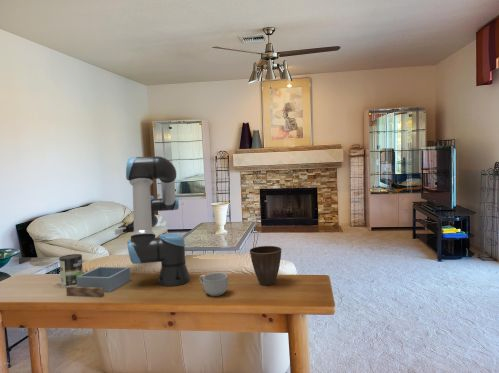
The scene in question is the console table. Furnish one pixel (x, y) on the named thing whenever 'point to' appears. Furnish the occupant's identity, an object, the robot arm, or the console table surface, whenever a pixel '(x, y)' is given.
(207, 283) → the teacup
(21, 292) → the console table surface
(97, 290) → the rail
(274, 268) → the plant pot
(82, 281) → the tray
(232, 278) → the console table surface
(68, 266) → the coffee can
